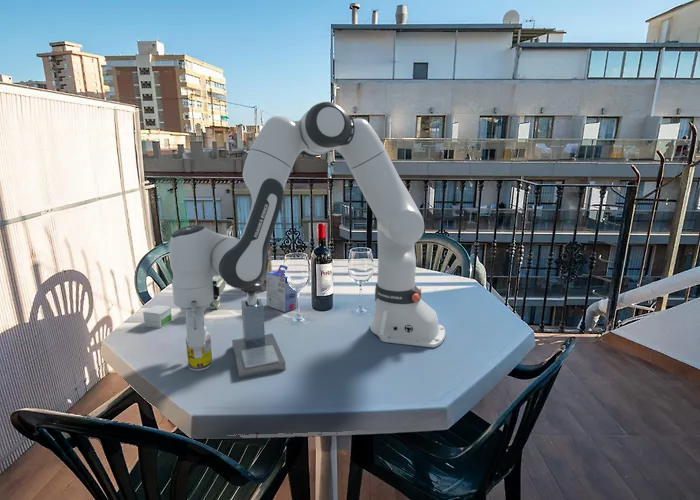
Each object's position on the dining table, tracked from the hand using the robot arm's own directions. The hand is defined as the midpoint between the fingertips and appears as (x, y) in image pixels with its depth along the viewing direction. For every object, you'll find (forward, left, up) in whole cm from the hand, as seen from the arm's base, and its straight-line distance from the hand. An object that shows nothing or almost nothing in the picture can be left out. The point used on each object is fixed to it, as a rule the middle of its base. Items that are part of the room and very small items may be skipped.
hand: (197, 347), depth 93 cm
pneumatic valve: (+22, -30, -5) cm, 37 cm away
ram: (-7, -13, +1) cm, 15 cm away
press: (-11, -9, -5) cm, 15 cm away
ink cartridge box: (+2, -40, -5) cm, 40 cm away
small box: (+29, -13, -5) cm, 32 cm away
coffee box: (+20, -54, -5) cm, 58 cm away
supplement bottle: (0, 0, -5) cm, 5 cm away
